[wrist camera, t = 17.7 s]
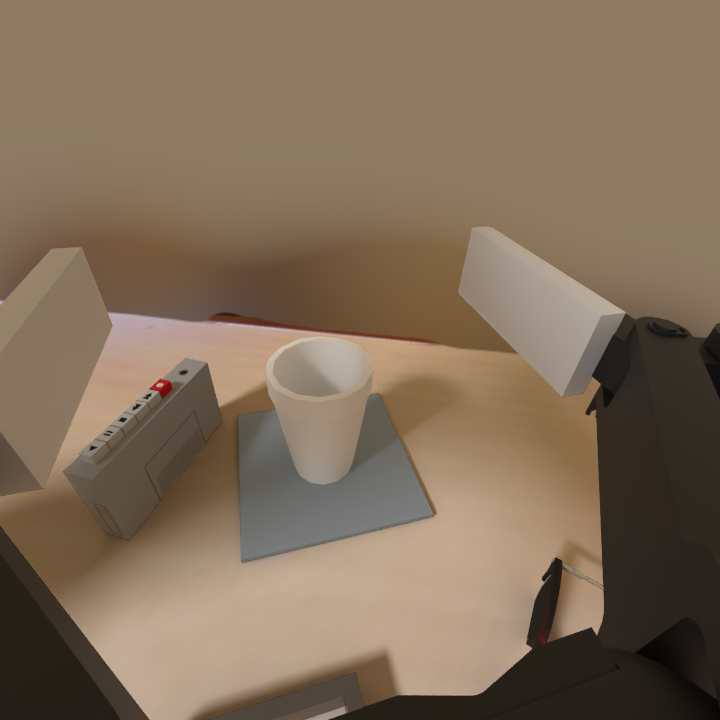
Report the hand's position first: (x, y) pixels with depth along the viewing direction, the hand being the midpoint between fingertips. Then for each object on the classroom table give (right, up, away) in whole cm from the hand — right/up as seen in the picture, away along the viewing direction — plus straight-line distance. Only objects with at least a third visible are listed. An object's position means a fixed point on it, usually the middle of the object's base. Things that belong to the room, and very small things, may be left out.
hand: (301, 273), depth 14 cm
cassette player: (-18, -15, +28) cm, 36 cm away
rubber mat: (-2, -14, +29) cm, 32 cm away
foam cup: (-2, -14, +29) cm, 32 cm away
